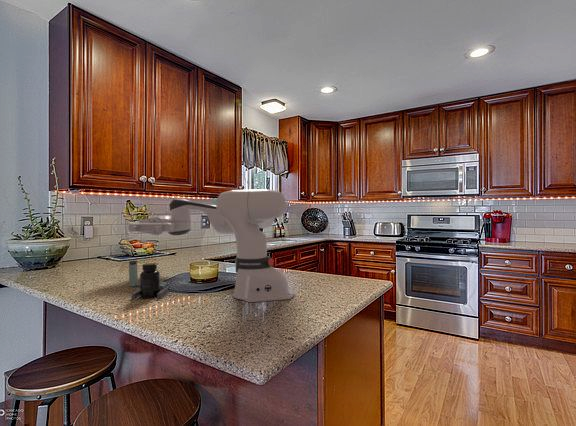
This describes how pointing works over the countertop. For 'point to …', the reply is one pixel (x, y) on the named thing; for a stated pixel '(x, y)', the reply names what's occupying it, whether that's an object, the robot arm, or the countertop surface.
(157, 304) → the countertop surface
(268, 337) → the countertop surface
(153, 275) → the supplement bottle
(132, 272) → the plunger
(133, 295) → the channel
